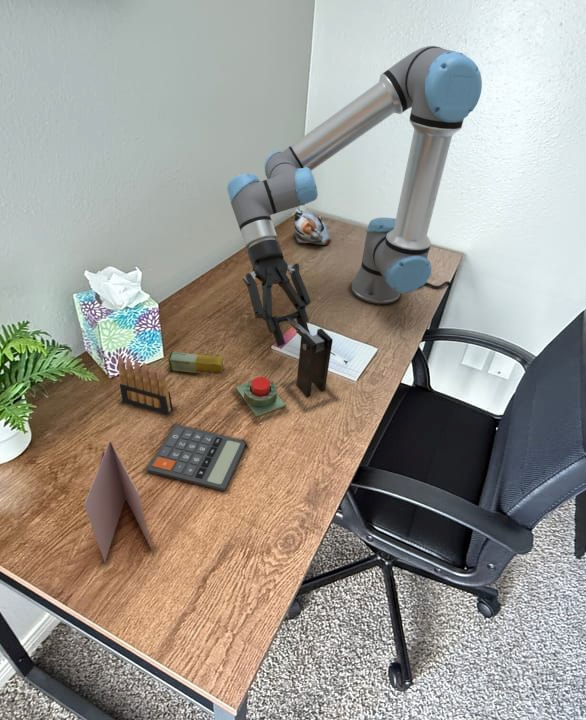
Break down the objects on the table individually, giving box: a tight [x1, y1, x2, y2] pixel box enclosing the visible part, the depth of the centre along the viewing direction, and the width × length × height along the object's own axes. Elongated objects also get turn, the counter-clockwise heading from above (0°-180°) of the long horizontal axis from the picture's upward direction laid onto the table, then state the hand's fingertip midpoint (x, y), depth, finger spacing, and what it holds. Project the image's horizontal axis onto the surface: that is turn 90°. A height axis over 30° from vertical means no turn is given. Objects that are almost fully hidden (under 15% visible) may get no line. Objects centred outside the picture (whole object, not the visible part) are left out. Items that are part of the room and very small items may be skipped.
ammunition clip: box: [117, 355, 174, 416], centre depth 94 cm, size 11×2×12 cm, turn 75°
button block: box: [235, 379, 287, 418], centre depth 100 cm, size 10×7×4 cm
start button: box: [251, 376, 271, 396], centre depth 99 cm, size 4×4×2 cm
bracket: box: [296, 328, 334, 398], centre depth 101 cm, size 9×8×16 cm
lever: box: [276, 311, 325, 353], centre depth 101 cm, size 14×6×2 cm, turn 34°
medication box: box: [167, 351, 224, 374], centre depth 106 cm, size 12×3×4 cm, turn 87°
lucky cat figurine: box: [293, 208, 332, 246], centre depth 165 cm, size 15×12×14 cm
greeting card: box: [83, 440, 153, 562], centre depth 71 cm, size 11×7×15 cm, turn 3°
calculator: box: [146, 424, 247, 492], centre depth 88 cm, size 12×1×15 cm
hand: (294, 341), depth 105 cm, fingers closed on lever, 6 cm apart
